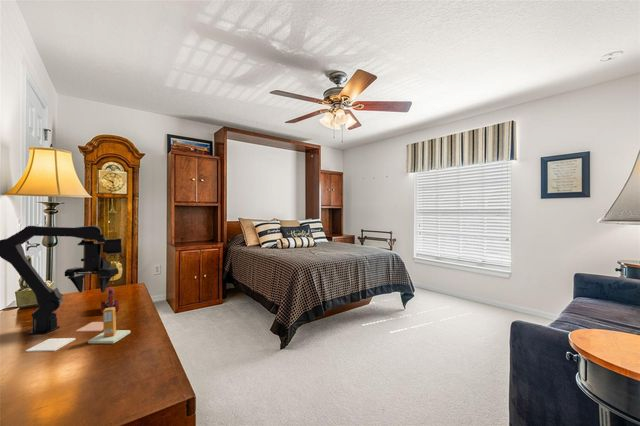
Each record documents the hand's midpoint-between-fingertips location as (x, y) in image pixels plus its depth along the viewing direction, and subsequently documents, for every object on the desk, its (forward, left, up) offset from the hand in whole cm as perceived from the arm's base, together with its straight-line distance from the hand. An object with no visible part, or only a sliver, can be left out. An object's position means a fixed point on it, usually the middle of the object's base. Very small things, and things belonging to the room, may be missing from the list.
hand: (91, 292), depth 119 cm
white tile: (+2, -20, -14) cm, 24 cm away
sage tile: (+18, -14, -13) cm, 26 cm away
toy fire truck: (-4, +16, -13) cm, 21 cm away
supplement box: (+18, -14, -12) cm, 26 cm away
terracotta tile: (+5, -4, -14) cm, 15 cm away
